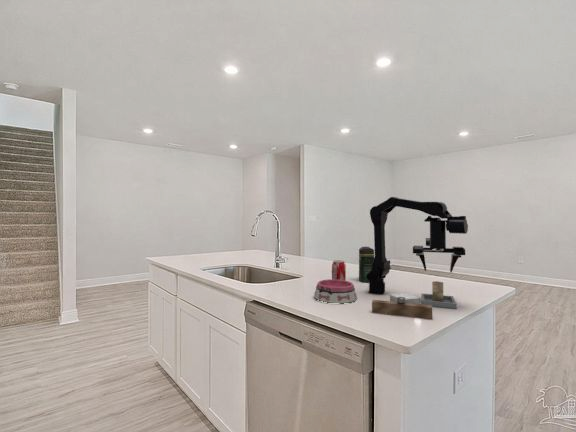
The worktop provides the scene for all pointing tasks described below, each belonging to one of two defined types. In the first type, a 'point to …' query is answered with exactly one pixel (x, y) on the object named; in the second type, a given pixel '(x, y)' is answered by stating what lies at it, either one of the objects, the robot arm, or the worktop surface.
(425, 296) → the tray
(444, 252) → the robot arm
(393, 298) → the small box
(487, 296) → the worktop surface
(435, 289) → the dowel
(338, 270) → the soda can
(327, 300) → the dog bowl
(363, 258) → the coffee jar
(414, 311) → the stop rail
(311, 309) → the worktop surface
